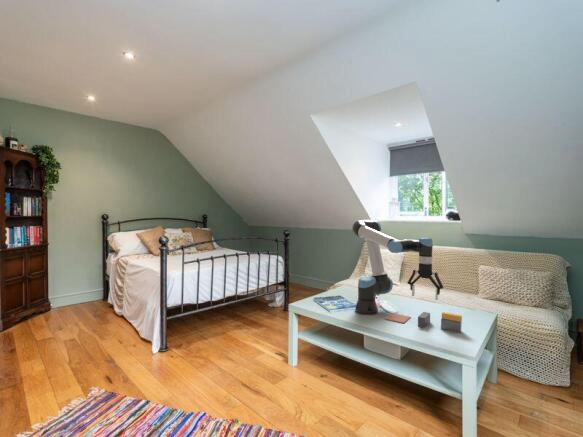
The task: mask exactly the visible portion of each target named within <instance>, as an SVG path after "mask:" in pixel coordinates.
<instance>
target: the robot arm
mask: <svg viewBox="0 0 583 437" xmlns="http://www.w3.org/2000/svg"><path fill="white" fill-rule="evenodd" d="M351 229H352V233H353V234H354V235H355V236H357V237H358V238H361V239H363V240H364V241H365V242H366V247H367V248H366V249H367V252H368V258H369V263H370V267H371V273H372V274H371V275H368V276H362V277H360V278H359V279H358V283H357V302H356V304H355V309H354V310H355V312H356V313H358V314H360V315H364V316H365V315H367V316H369V315H370V316H372V315H377V314H378V313H379V309H378V306H377V302H376V296H379V295H386V294H389V293H391V291H392V290H393V286H394V283H393V280H392V279H391V277H389V275H388V273H387V272H386V271H385V266H384V262H383V258H382V253H381V247H384V248H387V249H388V251H389V253H392V254H394V253H395V254H399V253H400V254H401V253H408V252H411V253H418V269H413V270H412V274H411V275H410V277H409V279H408V281H407V282H406V284H408V285H409V286H410V288H409V290H410V291H411V297H414V296H415V290H416V289H415V283H417V281H418V280H419V279H420V278H421V279H428V280H429V281H430V282H431V283H432V284H433V286H435V288H436V289H435V296H434V297H435V301H438V300H439V295H441V294H440V293H441V290H443V289H444V285H443V283H442V281H441V278H440V276H439V274H438V271H435V272H433V264H432V263H433V246H434V245H433V239H432V238H431V237H419V239H418V240H416V239H409V238H408V239H407V238H406V239H405V238H404V239H401V240H400V239H396V238H394V237H392V236H390V235H387V234H385V233H382V226H381V223H380V222H379V221H377V220H375V219H374V220H373V219H359V220H355V222H354V223H353V224H352V227H351ZM380 246H381V247H380ZM416 274H418V276H417V277H416V278H414V277H415V275H416ZM433 276H434V277H435V279H434V277H433ZM413 279H414V280H413ZM435 280H436V281H435Z"/></svg>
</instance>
